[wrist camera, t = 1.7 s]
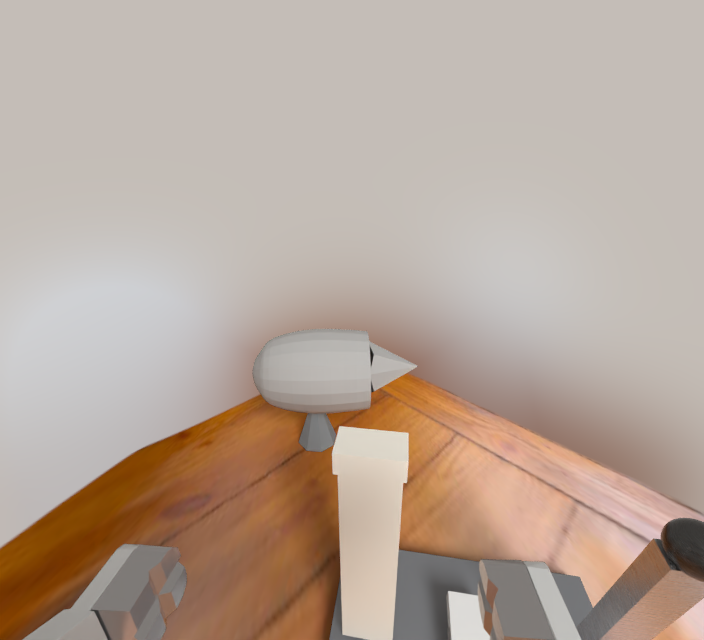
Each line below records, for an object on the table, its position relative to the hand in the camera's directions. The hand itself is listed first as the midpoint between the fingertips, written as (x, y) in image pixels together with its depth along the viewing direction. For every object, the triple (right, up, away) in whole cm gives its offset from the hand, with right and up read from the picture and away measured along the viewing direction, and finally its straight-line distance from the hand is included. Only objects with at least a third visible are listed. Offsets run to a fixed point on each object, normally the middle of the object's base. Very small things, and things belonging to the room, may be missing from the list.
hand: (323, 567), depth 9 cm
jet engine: (-2, -12, +41) cm, 43 cm away
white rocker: (+10, -18, +17) cm, 27 cm away
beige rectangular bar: (+2, -19, +19) cm, 26 cm away
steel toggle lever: (+18, -19, +16) cm, 30 cm away
